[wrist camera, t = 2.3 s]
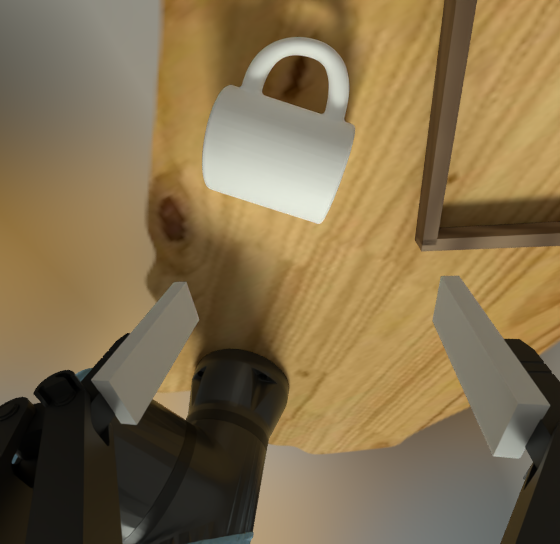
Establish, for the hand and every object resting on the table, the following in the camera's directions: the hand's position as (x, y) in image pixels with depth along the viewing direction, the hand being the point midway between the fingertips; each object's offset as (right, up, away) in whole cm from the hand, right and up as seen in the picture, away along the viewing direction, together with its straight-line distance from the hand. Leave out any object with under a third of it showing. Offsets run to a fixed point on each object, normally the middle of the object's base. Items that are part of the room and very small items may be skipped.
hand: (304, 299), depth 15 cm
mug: (0, +14, +11) cm, 18 cm away
